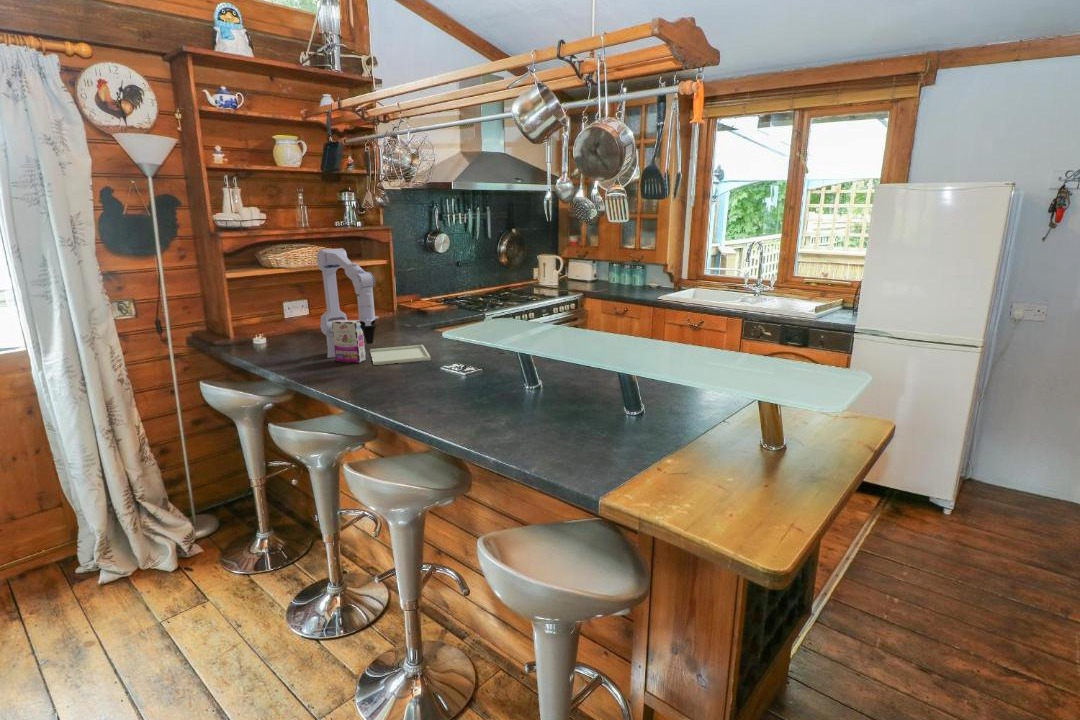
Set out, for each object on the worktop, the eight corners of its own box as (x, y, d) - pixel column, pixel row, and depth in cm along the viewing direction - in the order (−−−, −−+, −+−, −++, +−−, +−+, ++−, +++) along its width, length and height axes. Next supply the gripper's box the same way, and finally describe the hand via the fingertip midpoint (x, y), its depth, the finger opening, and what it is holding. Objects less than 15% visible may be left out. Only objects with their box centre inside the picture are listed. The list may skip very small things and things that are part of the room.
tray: (370, 352, 247) (370, 349, 247) (423, 348, 254) (422, 344, 254) (373, 365, 227) (373, 362, 227) (430, 360, 234) (430, 356, 234)
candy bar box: (366, 360, 236) (363, 320, 231) (359, 363, 231) (355, 322, 227) (342, 358, 239) (338, 318, 235) (335, 361, 234) (330, 321, 230)
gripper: (378, 307, 213) (381, 344, 216) (376, 302, 226) (379, 336, 229) (357, 309, 211) (361, 346, 214) (357, 303, 224) (360, 338, 227)
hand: (369, 341), depth 222 cm, fingers open, 7 cm apart
